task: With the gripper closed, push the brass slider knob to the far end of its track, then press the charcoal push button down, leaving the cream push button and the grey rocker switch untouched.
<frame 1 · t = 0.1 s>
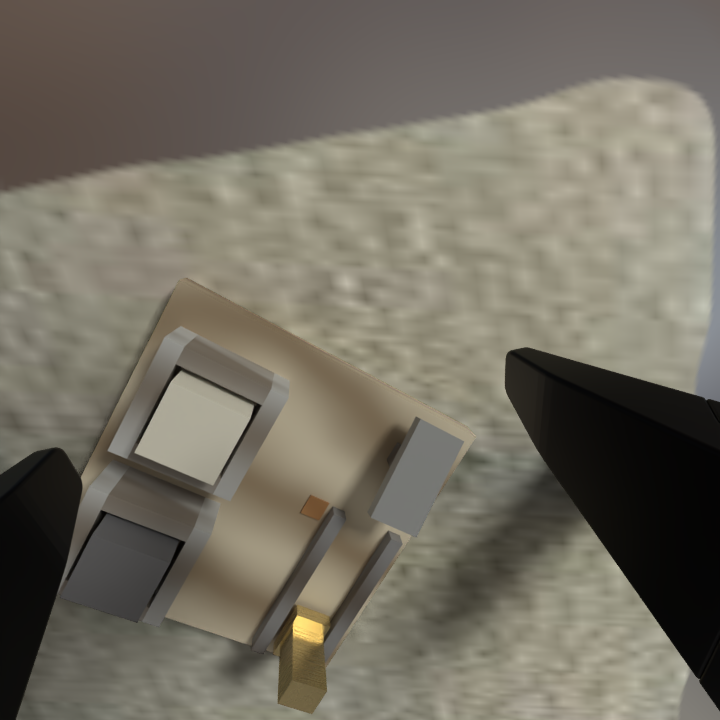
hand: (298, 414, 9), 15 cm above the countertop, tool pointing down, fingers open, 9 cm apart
panel: (264, 488, 26), on the countertop
slider: (301, 660, 25), point 4 cm above the countertop, slide at 0.0 cm
rocker: (416, 476, 23), point 4 cm above the countertop, hinge at 12.0°
charcoal button: (123, 565, 21), point 5 cm above the countertop, slide at 0.0 cm
cream button: (197, 426, 20), point 4 cm above the countertop, slide at 0.0 cm
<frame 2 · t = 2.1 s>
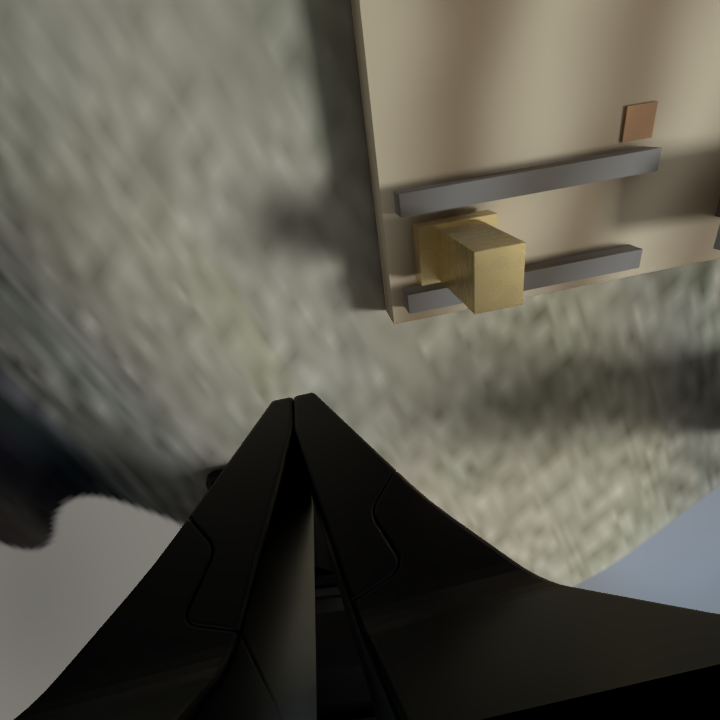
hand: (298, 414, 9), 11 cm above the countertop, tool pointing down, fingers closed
panel: (597, 40, 16), on the countertop
slider: (472, 260, 15), point 4 cm above the countertop, slide at 0.0 cm
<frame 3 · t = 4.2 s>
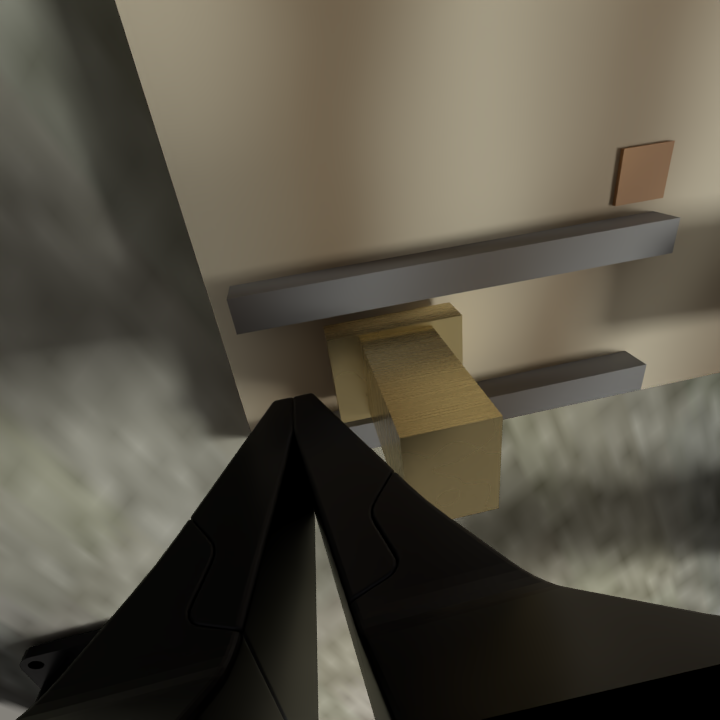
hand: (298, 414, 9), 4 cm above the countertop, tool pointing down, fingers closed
panel: (574, 38, 10), on the countertop
slider: (415, 403, 9), point 4 cm above the countertop, slide at 1.3 cm, touching gripper
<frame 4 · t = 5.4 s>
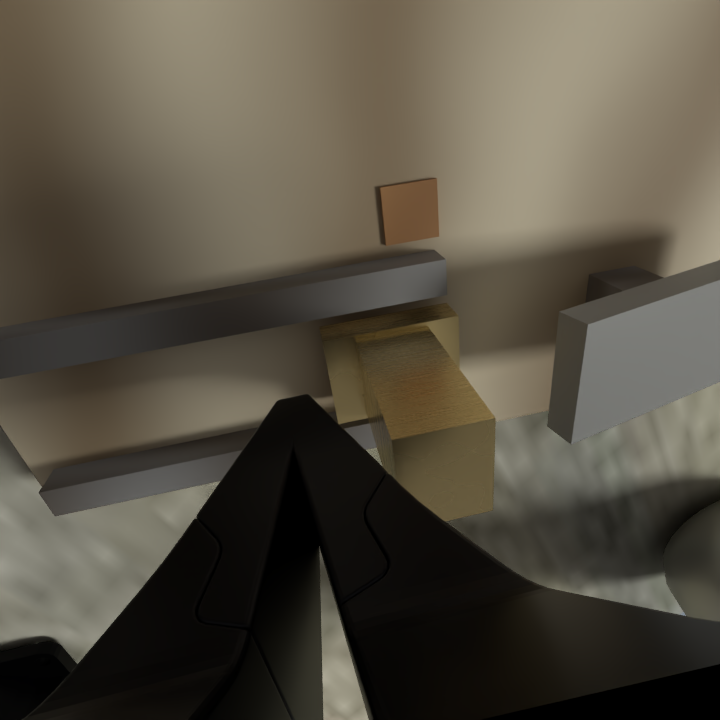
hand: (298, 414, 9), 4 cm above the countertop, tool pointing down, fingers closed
plastic bottle: (703, 524, 20), on the countertop
panel: (335, 70, 9), on the countertop
slider: (411, 404, 9), point 4 cm above the countertop, slide at 6.6 cm, touching gripper
rocker: (668, 342, 10), point 4 cm above the countertop, hinge at 12.0°
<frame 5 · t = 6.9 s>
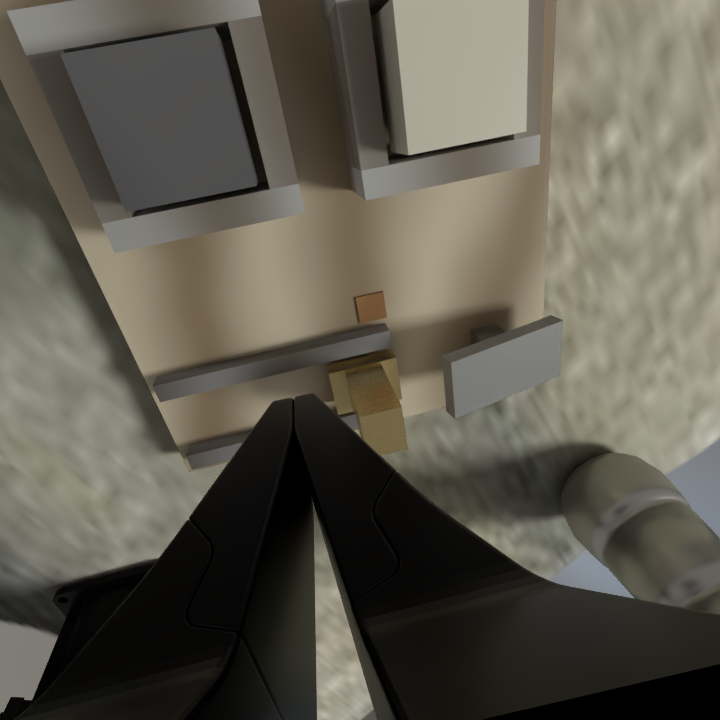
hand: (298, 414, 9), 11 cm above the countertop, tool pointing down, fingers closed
plastic bottle: (591, 477, 29), on the countertop
panel: (331, 239, 19), on the countertop
slider: (372, 403, 18), point 4 cm above the countertop, slide at 6.6 cm
rocker: (504, 366, 19), point 4 cm above the countertop, hinge at 12.0°
charcoal button: (174, 126, 12), point 4 cm above the countertop, slide at 0.0 cm
cream button: (451, 74, 13), point 4 cm above the countertop, slide at 0.0 cm
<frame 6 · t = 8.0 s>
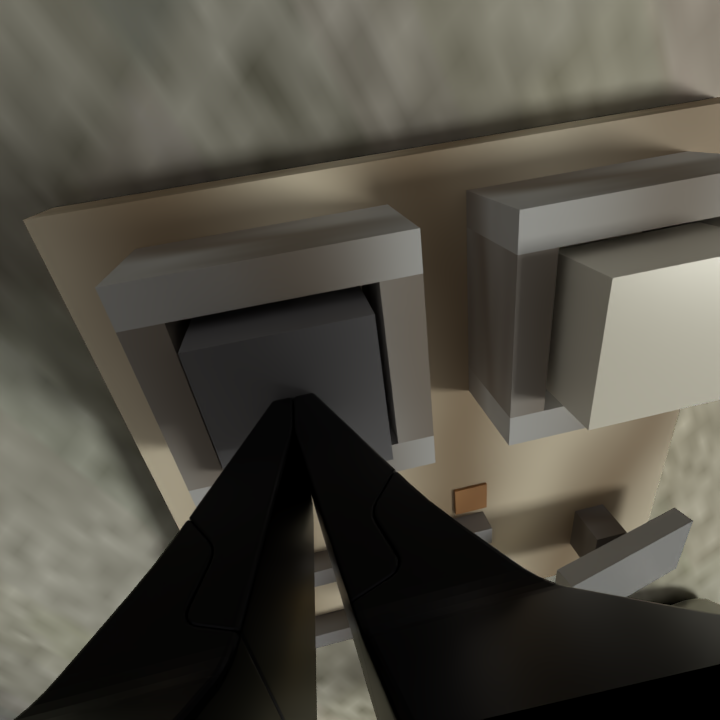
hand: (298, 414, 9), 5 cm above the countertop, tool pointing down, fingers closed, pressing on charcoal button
plastic bottle: (664, 614, 27), on the countertop
panel: (427, 419, 16), on the countertop
rocker: (620, 569, 16), point 4 cm above the countertop, hinge at 12.0°
charcoal button: (295, 386, 10), point 4 cm above the countertop, slide at 0.5 cm, touching gripper
cream button: (644, 324, 10), point 4 cm above the countertop, slide at 0.0 cm
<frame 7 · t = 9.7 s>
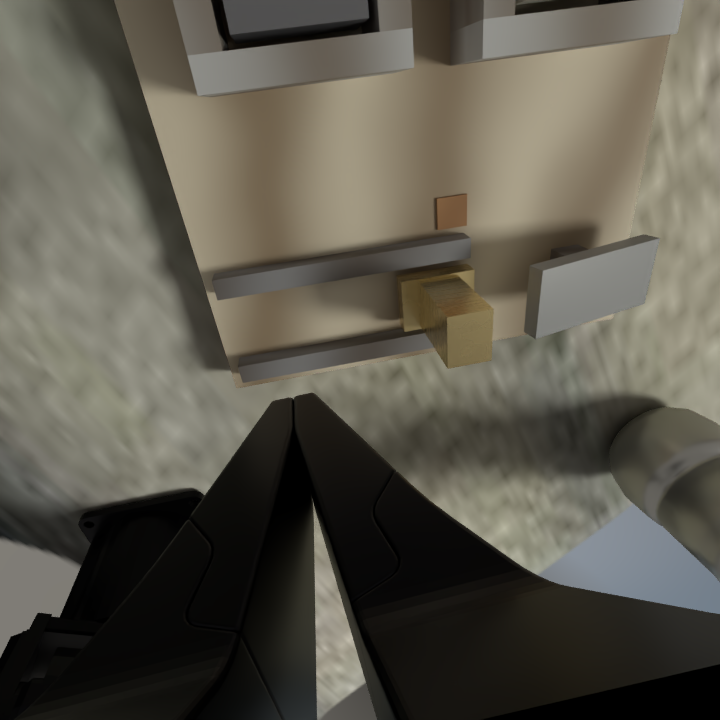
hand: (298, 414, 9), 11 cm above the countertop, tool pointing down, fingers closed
plastic bottle: (639, 434, 28), on the countertop
panel: (412, 133, 17), on the countertop
slider: (449, 314, 17), point 4 cm above the countertop, slide at 6.6 cm
rocker: (590, 285, 18), point 4 cm above the countertop, hinge at 12.0°
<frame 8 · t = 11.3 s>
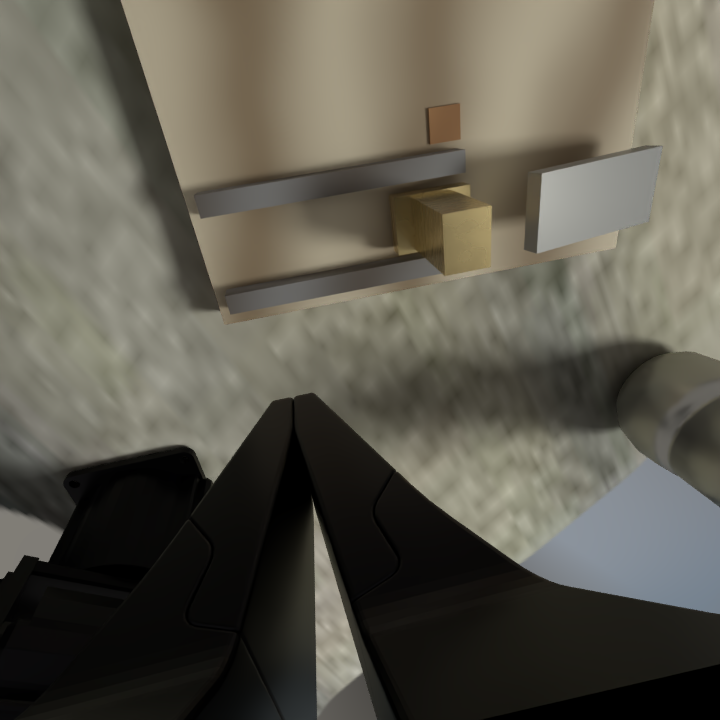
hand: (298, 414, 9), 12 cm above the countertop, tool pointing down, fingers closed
plastic bottle: (647, 385, 27), on the countertop
panel: (401, 43, 16), on the countertop
slider: (445, 228, 16), point 4 cm above the countertop, slide at 6.6 cm
rocker: (592, 198, 17), point 4 cm above the countertop, hinge at 12.0°
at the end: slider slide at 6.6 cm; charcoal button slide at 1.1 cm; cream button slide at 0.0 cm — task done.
